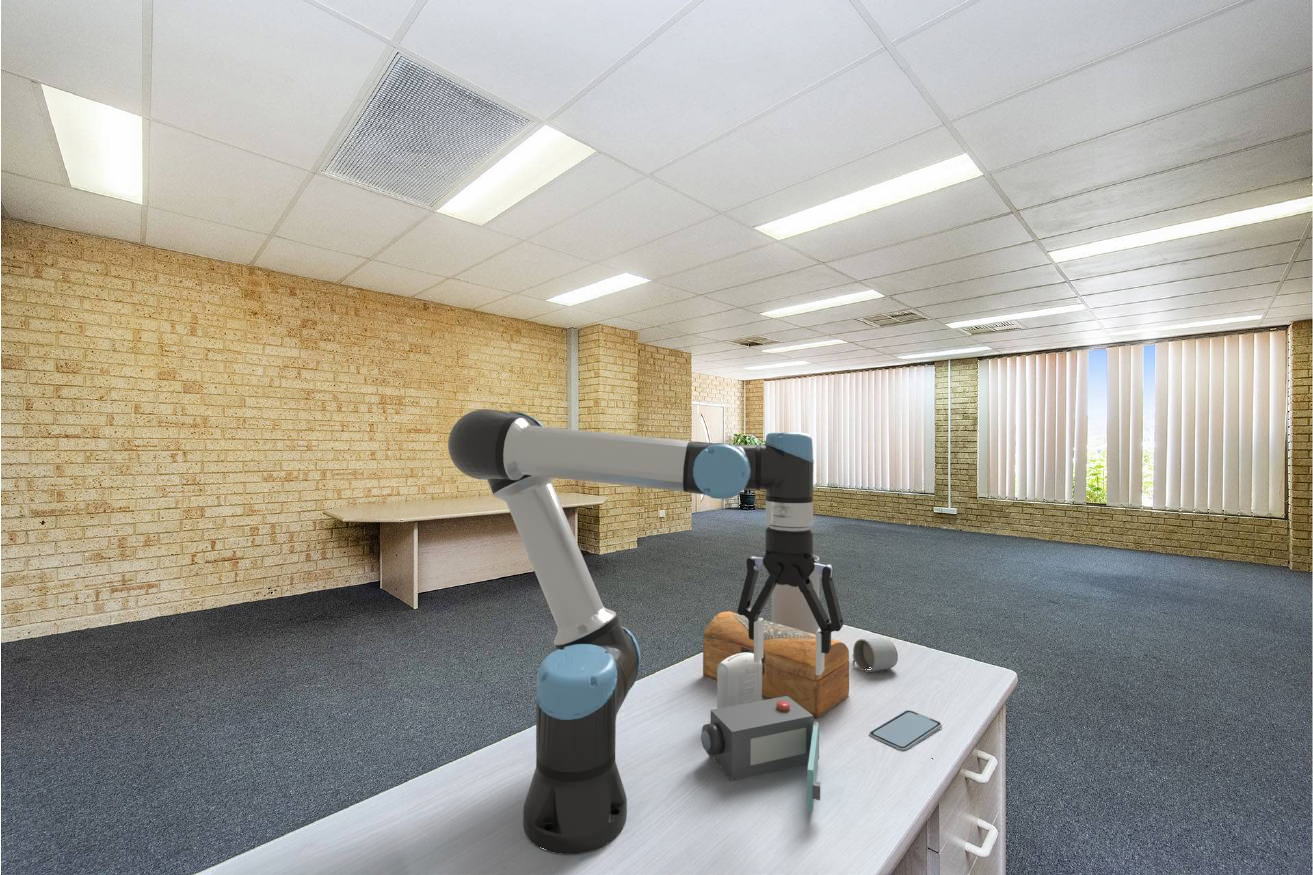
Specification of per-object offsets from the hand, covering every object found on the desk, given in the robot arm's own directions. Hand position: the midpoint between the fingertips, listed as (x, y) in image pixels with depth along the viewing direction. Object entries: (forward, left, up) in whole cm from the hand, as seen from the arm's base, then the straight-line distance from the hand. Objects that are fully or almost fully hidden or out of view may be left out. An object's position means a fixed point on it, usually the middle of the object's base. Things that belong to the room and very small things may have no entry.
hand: (788, 665), depth 89 cm
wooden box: (+18, +33, -20) cm, 43 cm away
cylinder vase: (+36, +50, -20) cm, 65 cm away
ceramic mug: (+47, +34, -20) cm, 61 cm away
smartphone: (+32, +7, -20) cm, 38 cm away
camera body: (-1, +8, -20) cm, 21 cm away
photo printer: (+4, +23, -20) cm, 31 cm away
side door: (+4, -2, -19) cm, 19 cm away
